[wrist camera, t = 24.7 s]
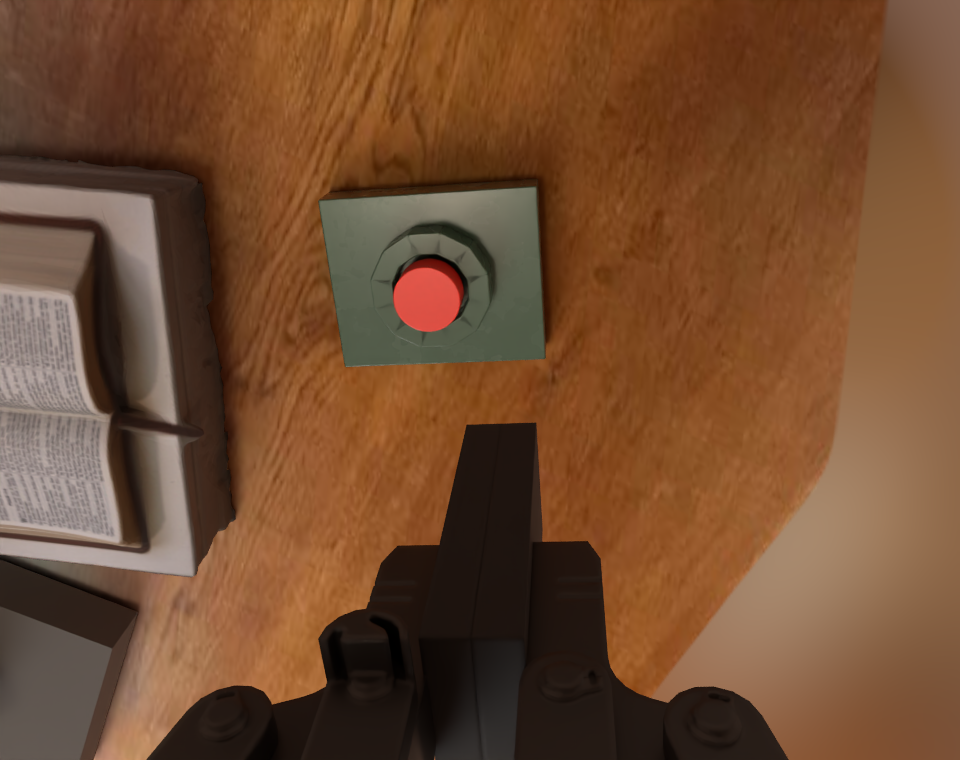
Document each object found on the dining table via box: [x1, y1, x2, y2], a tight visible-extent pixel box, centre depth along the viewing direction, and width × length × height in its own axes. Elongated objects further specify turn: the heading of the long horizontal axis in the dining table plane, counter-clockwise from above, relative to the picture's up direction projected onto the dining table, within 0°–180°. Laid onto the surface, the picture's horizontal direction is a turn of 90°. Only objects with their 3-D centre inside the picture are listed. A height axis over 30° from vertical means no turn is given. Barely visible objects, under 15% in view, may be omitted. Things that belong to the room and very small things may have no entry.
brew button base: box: [318, 179, 546, 367], centre depth 46 cm, size 12×10×4 cm
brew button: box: [393, 259, 464, 332], centre depth 43 cm, size 4×4×2 cm
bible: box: [0, 155, 236, 577], centre depth 47 cm, size 23×27×10 cm
